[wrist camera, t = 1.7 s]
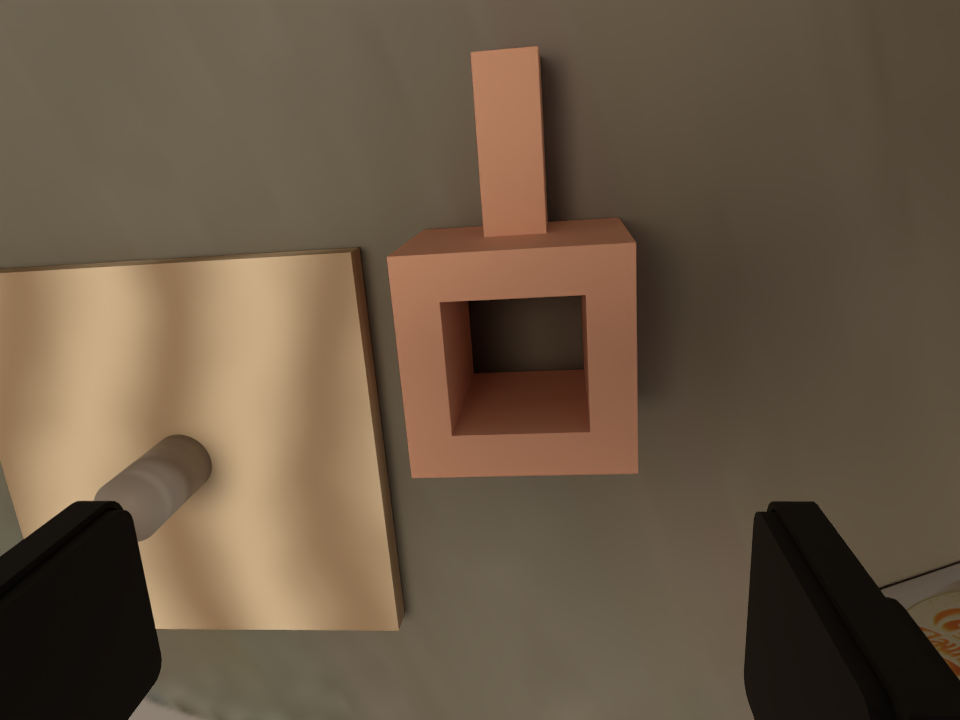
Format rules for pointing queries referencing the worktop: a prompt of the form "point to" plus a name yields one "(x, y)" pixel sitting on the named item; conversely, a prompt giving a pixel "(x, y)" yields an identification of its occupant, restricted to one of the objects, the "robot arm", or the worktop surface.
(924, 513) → the worktop surface
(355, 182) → the worktop surface
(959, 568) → the coffee box
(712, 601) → the worktop surface
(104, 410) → the post base
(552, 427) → the square nut with handle
